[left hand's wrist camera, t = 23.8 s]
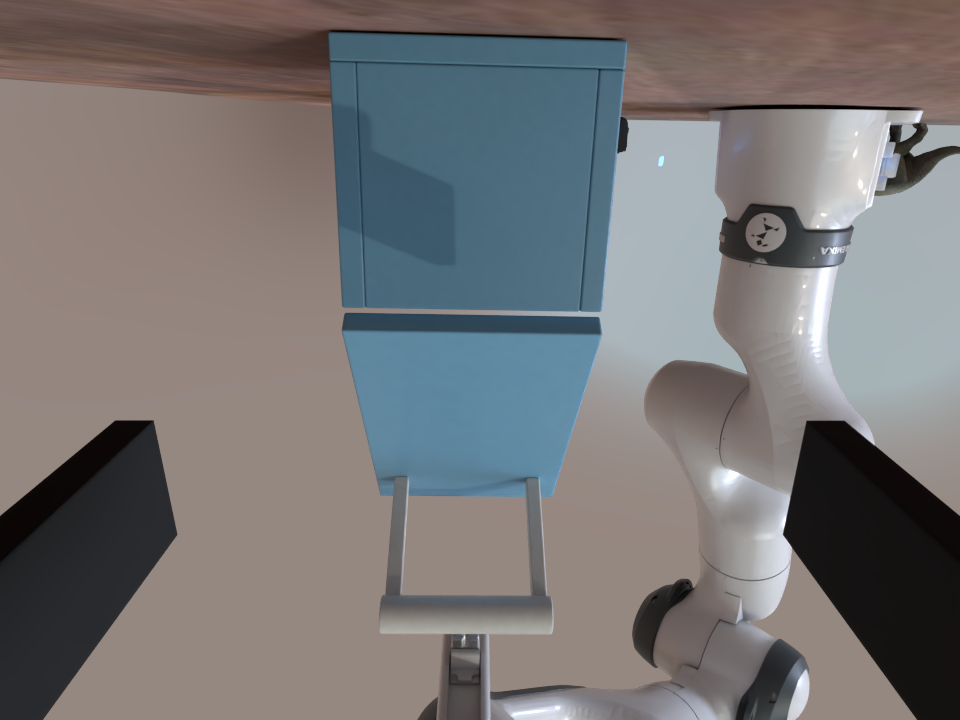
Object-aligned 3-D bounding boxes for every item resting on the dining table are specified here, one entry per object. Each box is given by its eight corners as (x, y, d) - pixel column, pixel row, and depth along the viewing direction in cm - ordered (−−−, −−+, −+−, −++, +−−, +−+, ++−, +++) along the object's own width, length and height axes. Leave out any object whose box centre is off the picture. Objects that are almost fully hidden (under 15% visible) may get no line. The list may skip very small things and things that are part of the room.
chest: (563, 76, 33) (552, 246, 36) (382, 71, 33) (387, 243, 36) (628, 40, 20) (602, 312, 23) (327, 31, 20) (341, 307, 23)
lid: (551, 482, 35) (563, 644, 30) (381, 480, 35) (366, 644, 30) (599, 316, 23) (633, 537, 18) (344, 311, 23) (308, 535, 18)
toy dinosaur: (985, 123, 80) (960, 212, 84) (979, 124, 87) (956, 207, 91) (797, 120, 91) (783, 200, 95) (804, 122, 98) (791, 196, 102)
